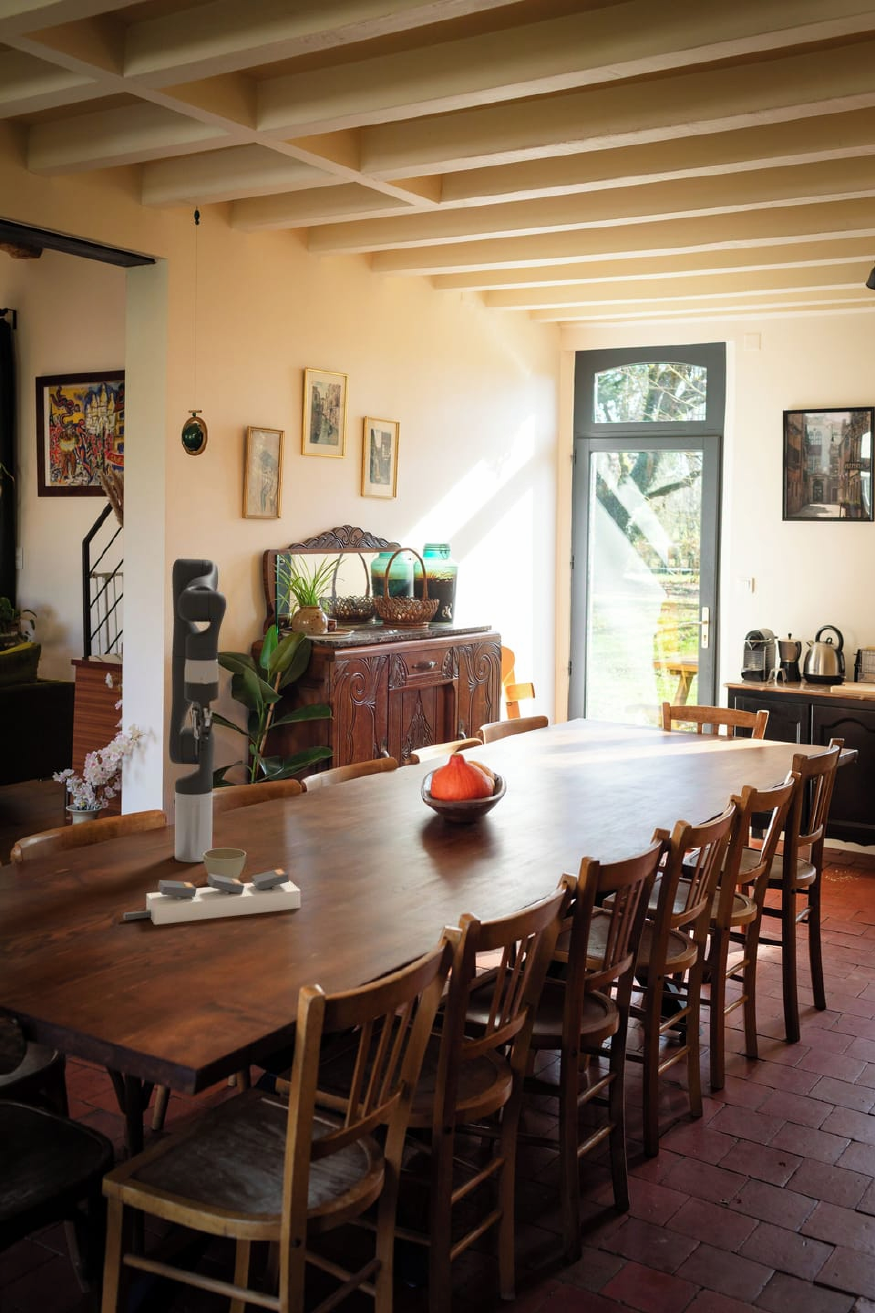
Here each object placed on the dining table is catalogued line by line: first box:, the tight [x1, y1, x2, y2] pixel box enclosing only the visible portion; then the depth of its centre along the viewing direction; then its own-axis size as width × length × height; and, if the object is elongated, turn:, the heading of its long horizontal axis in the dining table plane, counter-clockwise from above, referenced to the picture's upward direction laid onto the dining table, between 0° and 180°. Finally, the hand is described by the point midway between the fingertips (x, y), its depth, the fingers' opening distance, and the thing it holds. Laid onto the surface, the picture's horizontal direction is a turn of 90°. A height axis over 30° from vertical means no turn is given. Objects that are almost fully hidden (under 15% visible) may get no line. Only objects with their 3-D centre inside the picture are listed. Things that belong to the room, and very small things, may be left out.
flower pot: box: [203, 847, 247, 880], centre depth 275 cm, size 10×10×7 cm
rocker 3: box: [251, 867, 290, 890], centre depth 260 cm, size 5×7×2 cm
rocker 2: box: [206, 873, 244, 894], centre depth 256 cm, size 5×7×2 cm
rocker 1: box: [157, 879, 197, 897], centre depth 252 cm, size 5×7×2 cm
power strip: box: [123, 879, 302, 926], centre depth 255 cm, size 9×38×5 cm, turn 115°
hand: (201, 754), depth 265 cm, fingers closed
